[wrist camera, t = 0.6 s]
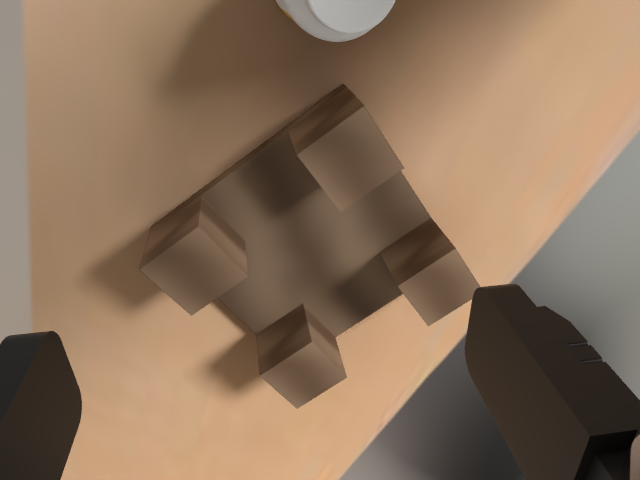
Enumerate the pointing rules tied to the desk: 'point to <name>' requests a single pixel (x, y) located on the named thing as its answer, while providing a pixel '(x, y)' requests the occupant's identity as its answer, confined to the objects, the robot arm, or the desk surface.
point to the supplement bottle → (336, 16)
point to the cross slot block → (308, 245)
